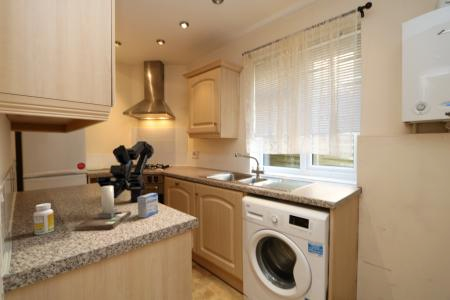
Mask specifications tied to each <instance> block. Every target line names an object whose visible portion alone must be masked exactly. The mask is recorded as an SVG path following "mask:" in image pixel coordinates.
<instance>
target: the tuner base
mask: <svg viewBox="0 0 450 300" xmlns="http://www.w3.org/2000/svg"><path fill="white" fill-rule="evenodd" d="M119 212H120V211H117V213H119ZM121 212H122V214H117V215H115V216H114V217H112V218H99V215H98V213H97V214H94V215H93V216H91V217H90V218H88V219H86V220H85V221H83V222H81V223H79V224H77V225H75V231H97V230H98V231H99V230H102V231H103V230H113V229H115V228H116V227H117V226H118V225H120V224H121V223H122V222H124V221H125V220H126V219H127V218H129V217H130V216H132V214H131V213H132V212H131V211H130V210H128V211H125V210H124V211H121Z"/></svg>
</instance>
